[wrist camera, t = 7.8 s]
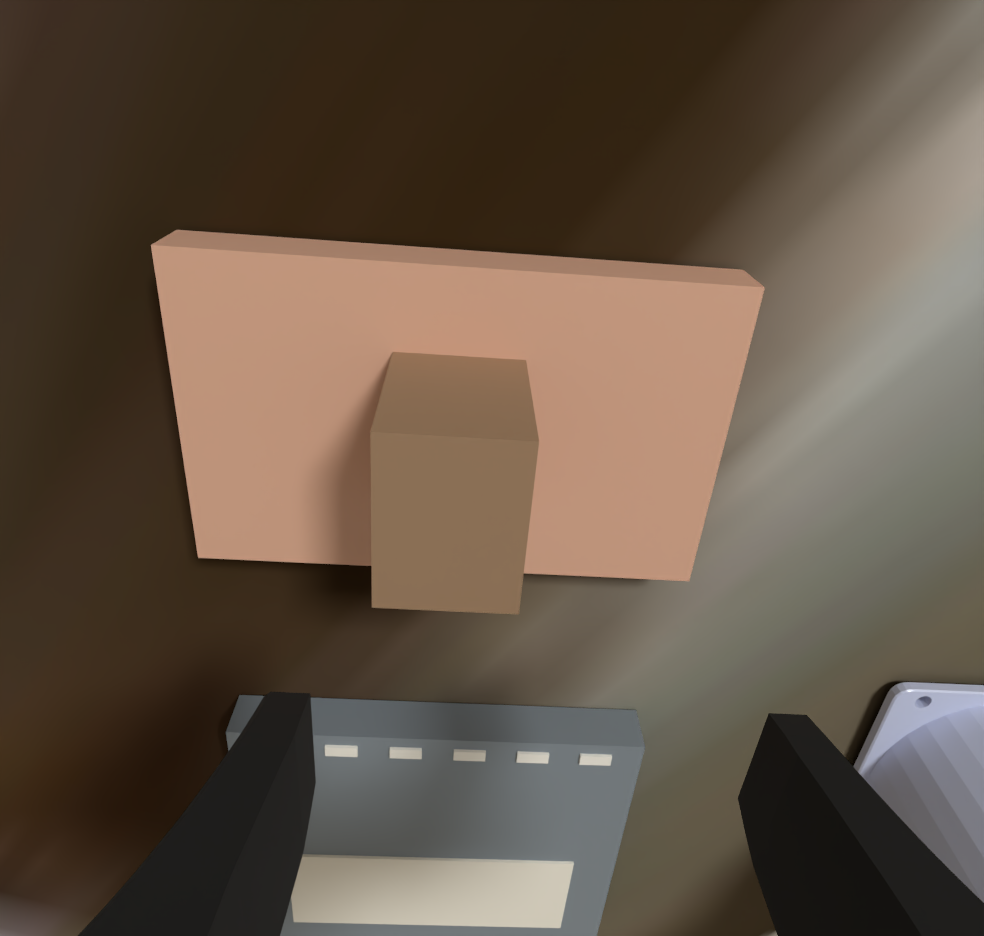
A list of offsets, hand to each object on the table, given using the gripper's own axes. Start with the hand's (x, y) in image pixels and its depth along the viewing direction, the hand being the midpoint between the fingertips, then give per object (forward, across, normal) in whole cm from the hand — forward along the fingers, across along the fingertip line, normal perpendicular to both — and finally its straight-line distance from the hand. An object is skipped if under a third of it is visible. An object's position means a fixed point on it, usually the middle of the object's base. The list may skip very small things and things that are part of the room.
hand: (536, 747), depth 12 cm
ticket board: (+9, +2, +15) cm, 18 cm away
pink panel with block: (+9, +2, -2) cm, 9 cm away
